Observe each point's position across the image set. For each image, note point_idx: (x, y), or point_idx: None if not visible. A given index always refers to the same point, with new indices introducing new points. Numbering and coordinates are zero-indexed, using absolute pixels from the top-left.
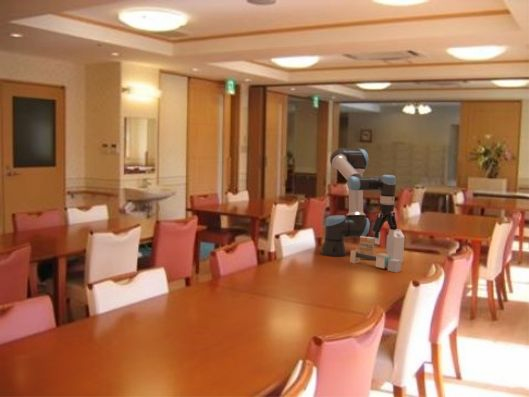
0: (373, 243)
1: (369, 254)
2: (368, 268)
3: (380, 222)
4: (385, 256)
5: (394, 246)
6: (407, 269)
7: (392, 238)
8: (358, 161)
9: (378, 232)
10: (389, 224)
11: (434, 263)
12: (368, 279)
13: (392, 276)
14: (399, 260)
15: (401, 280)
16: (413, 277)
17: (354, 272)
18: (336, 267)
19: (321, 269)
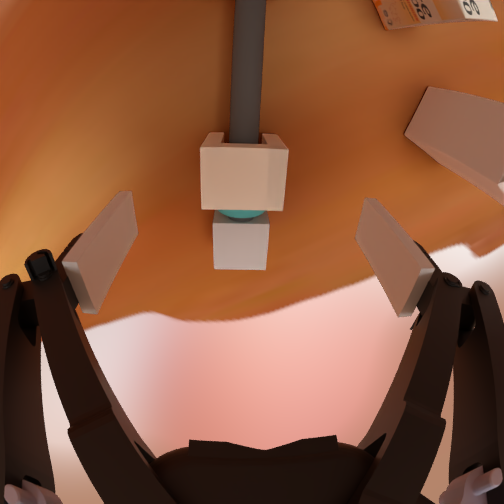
0: (442, 20)
1: (392, 10)
2: (177, 109)
3: (42, 420)
4: (217, 206)
5: (458, 161)
6: (323, 237)
7: (365, 252)
8: None
9: (75, 299)
10: (417, 345)
11: (475, 249)
12: (40, 237)
13: (144, 262)
14: (250, 267)
15: (129, 304)
16: (205, 309)
17: (57, 135)
18: (67, 26)
19: (5, 44)
